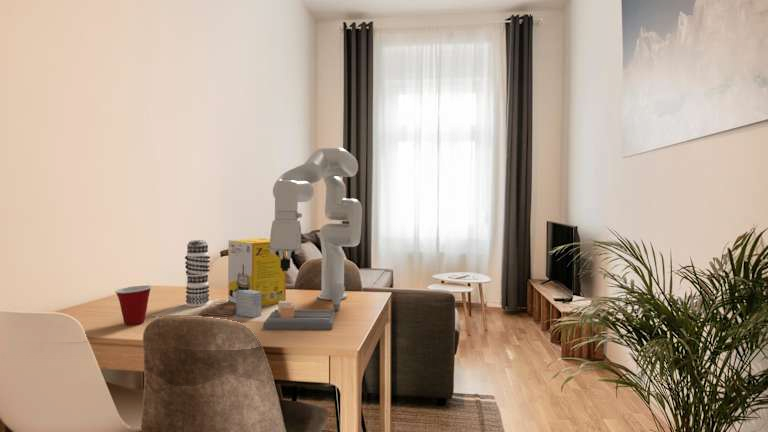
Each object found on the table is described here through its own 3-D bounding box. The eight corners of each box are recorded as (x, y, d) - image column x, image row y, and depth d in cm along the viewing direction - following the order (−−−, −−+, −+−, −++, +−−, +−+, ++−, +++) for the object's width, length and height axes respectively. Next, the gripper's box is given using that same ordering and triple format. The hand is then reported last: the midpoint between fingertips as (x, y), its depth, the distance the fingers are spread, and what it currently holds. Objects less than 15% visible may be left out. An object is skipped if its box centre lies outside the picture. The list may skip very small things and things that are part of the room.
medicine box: (261, 315, 165) (261, 291, 165) (253, 318, 161) (253, 293, 161) (244, 312, 168) (244, 289, 168) (235, 315, 164) (235, 291, 164)
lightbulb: (341, 312, 171) (342, 283, 170) (326, 311, 172) (326, 282, 171) (346, 308, 177) (346, 280, 176) (331, 307, 178) (331, 279, 177)
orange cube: (282, 317, 153) (282, 305, 153) (294, 317, 154) (294, 305, 153) (280, 319, 150) (280, 307, 150) (292, 319, 150) (293, 307, 150)
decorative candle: (189, 307, 174) (189, 242, 173) (181, 303, 181) (181, 240, 180) (213, 304, 180) (213, 241, 179) (204, 300, 187) (205, 239, 186)
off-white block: (279, 312, 160) (279, 300, 160) (291, 312, 160) (291, 300, 160) (278, 314, 157) (278, 302, 157) (290, 314, 157) (290, 302, 157)
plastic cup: (127, 318, 158) (127, 283, 157) (158, 319, 157) (158, 284, 157) (107, 327, 147) (107, 290, 146) (140, 328, 146) (140, 290, 146)
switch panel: (272, 317, 163) (272, 308, 163) (334, 317, 164) (334, 308, 164) (263, 329, 148) (263, 319, 148) (332, 329, 149) (332, 320, 149)
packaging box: (228, 301, 186) (228, 240, 185) (262, 295, 198) (262, 238, 197) (251, 308, 175) (251, 243, 174) (285, 301, 187) (286, 240, 187)
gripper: (309, 216, 159) (308, 269, 160) (265, 216, 158) (265, 268, 159) (307, 217, 152) (306, 272, 152) (261, 216, 151) (260, 272, 151)
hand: (285, 270), depth 156 cm, fingers closed
